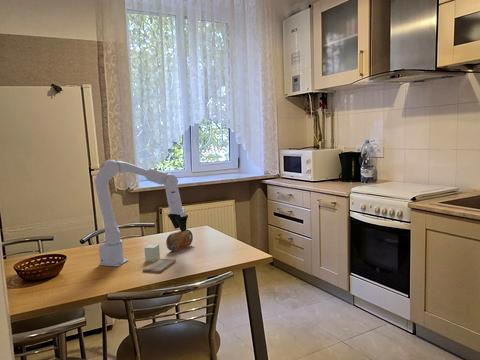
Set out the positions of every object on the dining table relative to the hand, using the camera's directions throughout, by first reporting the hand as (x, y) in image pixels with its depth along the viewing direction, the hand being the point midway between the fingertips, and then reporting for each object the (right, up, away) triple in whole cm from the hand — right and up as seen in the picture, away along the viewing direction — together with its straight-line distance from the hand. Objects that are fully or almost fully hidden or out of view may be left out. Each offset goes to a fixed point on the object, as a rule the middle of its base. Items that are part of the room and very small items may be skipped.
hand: (180, 229), depth 172 cm
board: (-6, -14, -14) cm, 21 cm away
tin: (-1, -10, +8) cm, 13 cm away
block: (-11, -12, -6) cm, 17 cm away
